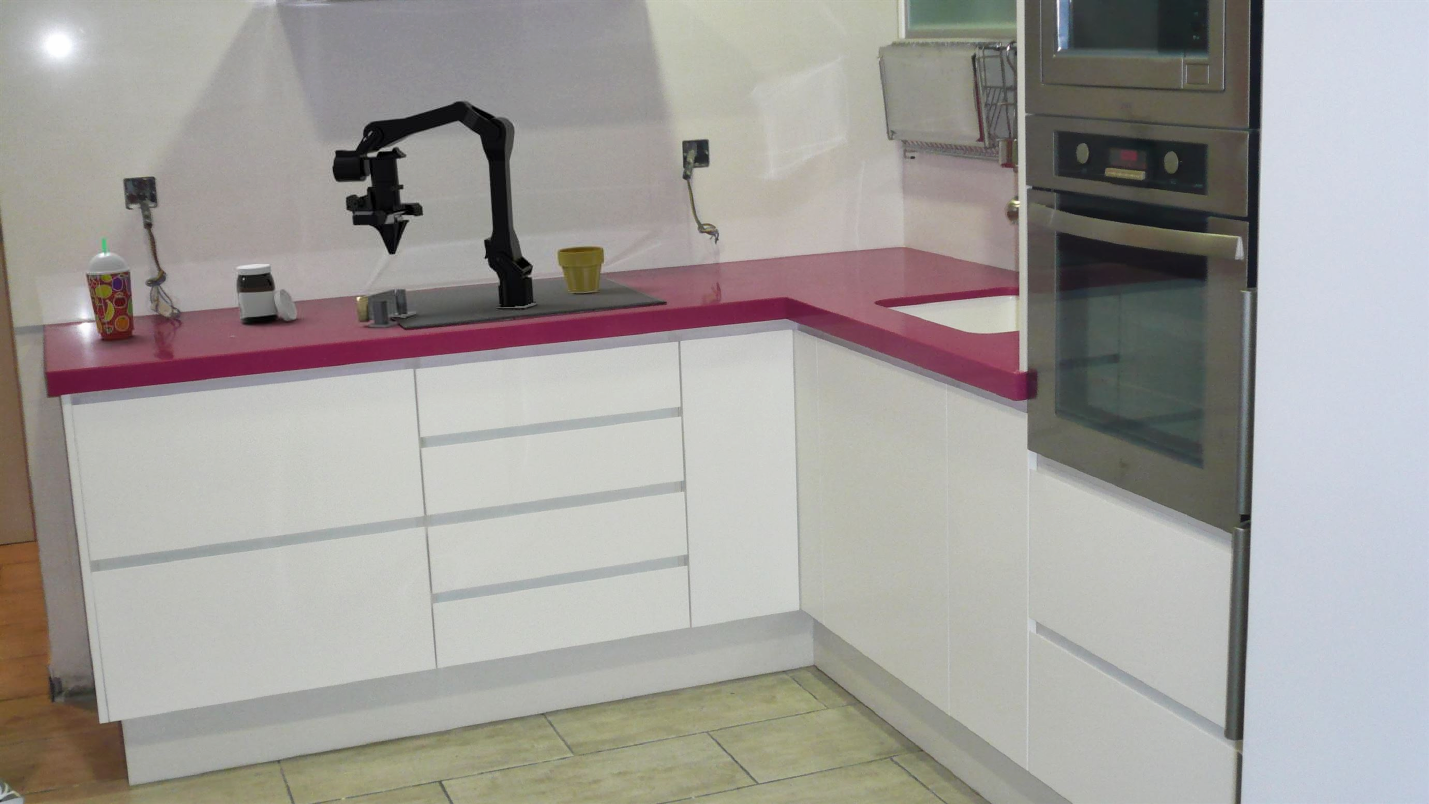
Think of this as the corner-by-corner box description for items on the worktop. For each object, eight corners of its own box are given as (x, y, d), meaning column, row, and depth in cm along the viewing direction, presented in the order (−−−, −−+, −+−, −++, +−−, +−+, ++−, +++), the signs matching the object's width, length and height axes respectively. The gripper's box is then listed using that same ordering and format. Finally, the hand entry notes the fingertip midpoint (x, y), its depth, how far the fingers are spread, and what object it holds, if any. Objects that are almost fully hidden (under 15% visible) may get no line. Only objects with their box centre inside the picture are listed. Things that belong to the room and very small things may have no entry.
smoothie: (102, 334, 288) (88, 236, 284) (144, 332, 289) (131, 234, 284) (88, 342, 280) (74, 241, 275) (131, 340, 281) (118, 239, 276)
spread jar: (238, 319, 300) (231, 265, 298) (293, 314, 304) (287, 260, 302) (243, 328, 289) (237, 271, 287) (300, 322, 294) (294, 266, 291)
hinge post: (417, 314, 298) (415, 288, 296) (404, 318, 293) (402, 292, 292) (397, 313, 300) (395, 287, 298) (384, 317, 295) (381, 291, 294)
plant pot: (551, 295, 315) (548, 251, 313) (573, 288, 325) (570, 245, 322) (593, 296, 312) (590, 252, 309) (613, 289, 321) (611, 246, 319)
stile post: (397, 324, 287) (395, 299, 286) (386, 327, 283) (384, 303, 282) (381, 323, 288) (378, 299, 287) (369, 327, 285) (367, 302, 284)
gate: (390, 312, 295) (388, 288, 294) (399, 313, 294) (396, 289, 293) (356, 322, 285) (354, 297, 284) (365, 322, 284) (362, 298, 283)
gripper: (376, 177, 310) (383, 248, 314) (326, 185, 293) (334, 260, 297) (420, 176, 306) (427, 248, 310) (372, 184, 289) (380, 260, 293)
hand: (392, 254), depth 302 cm, fingers closed
